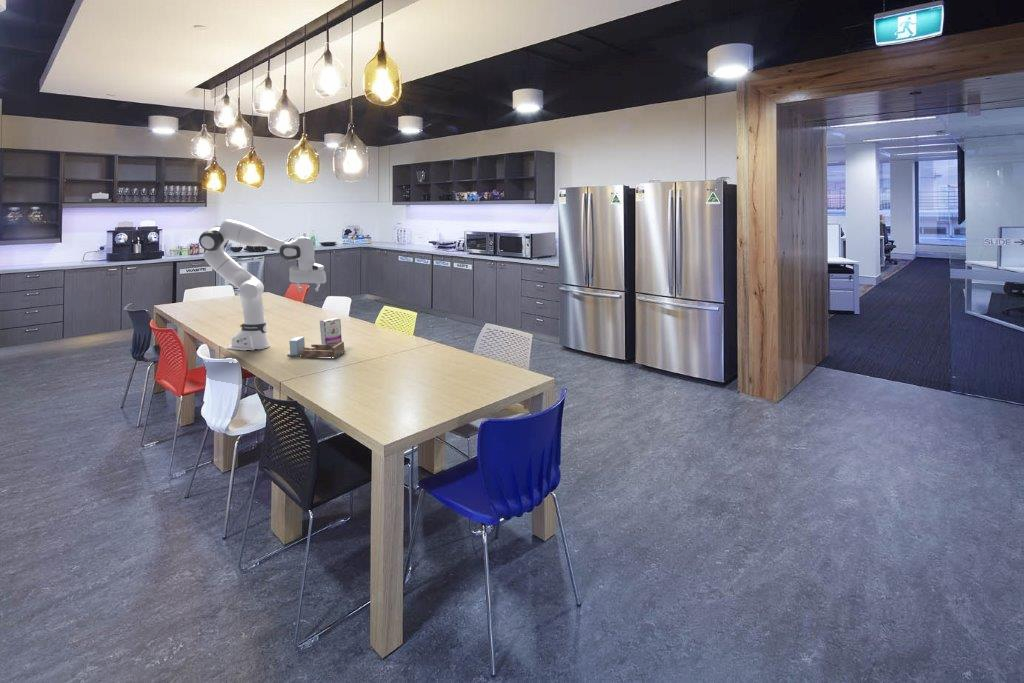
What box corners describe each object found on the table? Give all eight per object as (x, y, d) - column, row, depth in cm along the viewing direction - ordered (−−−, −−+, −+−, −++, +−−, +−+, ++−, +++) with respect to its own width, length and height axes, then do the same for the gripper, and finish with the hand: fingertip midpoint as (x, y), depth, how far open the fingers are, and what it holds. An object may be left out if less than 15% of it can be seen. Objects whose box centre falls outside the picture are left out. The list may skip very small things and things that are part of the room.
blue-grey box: (290, 354, 317) (289, 340, 316) (298, 350, 327) (297, 336, 325) (297, 355, 317) (296, 340, 315) (305, 350, 327) (304, 336, 325)
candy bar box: (337, 345, 345) (335, 317, 342) (342, 346, 342) (341, 318, 339) (320, 348, 336) (319, 320, 333) (326, 349, 333) (324, 321, 330)
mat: (287, 356, 317) (287, 355, 317) (296, 351, 328) (296, 350, 327) (299, 356, 316) (299, 355, 316) (308, 351, 327) (308, 350, 327)
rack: (301, 357, 314) (300, 346, 313) (312, 351, 329) (311, 340, 328) (334, 358, 313) (334, 347, 312) (344, 352, 328) (343, 341, 326)
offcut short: (311, 351, 318) (311, 348, 318) (303, 350, 321) (303, 347, 321) (315, 350, 321) (315, 347, 321) (307, 349, 324) (307, 346, 323)
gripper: (286, 266, 324) (288, 291, 326) (322, 267, 322) (323, 292, 325) (291, 265, 330) (293, 289, 333) (326, 266, 328) (328, 290, 331)
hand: (308, 290), depth 329 cm, fingers open, 8 cm apart
